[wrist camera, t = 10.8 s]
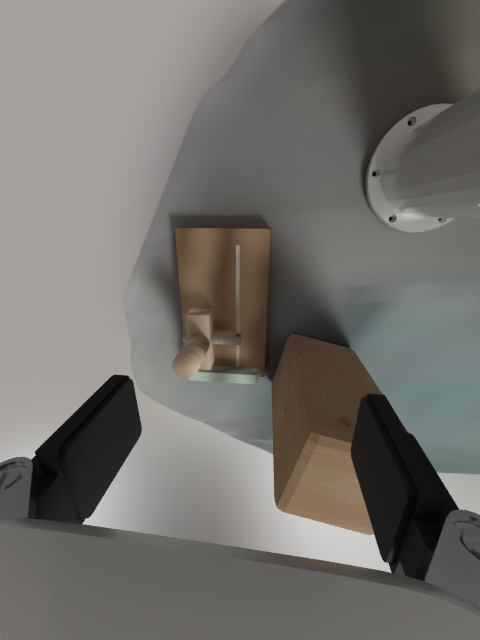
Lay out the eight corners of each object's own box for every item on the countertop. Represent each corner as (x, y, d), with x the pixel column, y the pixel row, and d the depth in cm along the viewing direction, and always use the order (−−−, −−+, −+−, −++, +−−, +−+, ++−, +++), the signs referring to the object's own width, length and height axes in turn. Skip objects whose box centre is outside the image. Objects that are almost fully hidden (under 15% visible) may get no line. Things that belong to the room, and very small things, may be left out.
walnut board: (270, 228, 34) (270, 229, 30) (264, 369, 41) (264, 384, 38) (179, 227, 35) (169, 228, 31) (189, 365, 42) (182, 379, 39)
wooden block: (288, 329, 39) (308, 431, 20) (354, 347, 39) (436, 465, 20) (269, 384, 42) (271, 514, 24) (330, 400, 42) (379, 543, 24)
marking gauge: (242, 309, 36) (233, 336, 28) (241, 360, 39) (234, 399, 30) (184, 307, 37) (160, 332, 28) (188, 357, 40) (167, 394, 31)
